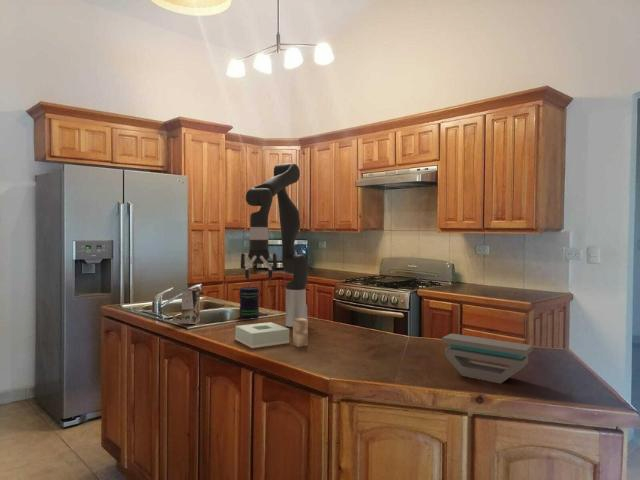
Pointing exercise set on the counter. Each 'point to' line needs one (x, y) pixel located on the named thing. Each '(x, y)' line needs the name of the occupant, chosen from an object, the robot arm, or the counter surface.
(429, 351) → the counter surface
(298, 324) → the peg
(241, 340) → the socket block
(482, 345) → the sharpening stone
